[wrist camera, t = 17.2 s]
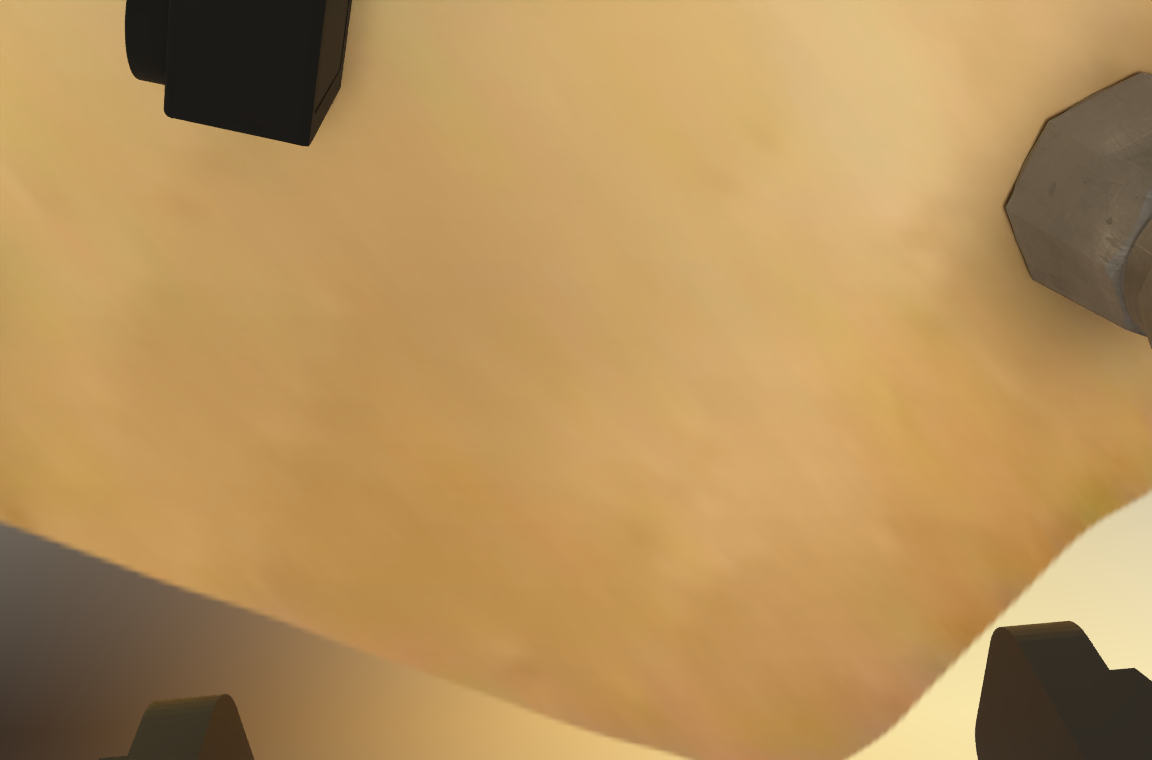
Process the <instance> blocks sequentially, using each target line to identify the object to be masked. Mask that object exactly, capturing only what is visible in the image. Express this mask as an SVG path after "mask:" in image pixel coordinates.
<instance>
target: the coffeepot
mask: <svg viewBox="0 0 1152 760" xmlns="http://www.w3.org/2000/svg"><path fill="white" fill-rule="evenodd" d="M1006 211H1007V214H1008V216H1009V219H1010V222H1011V224H1012V227H1013V231H1014V235H1015V239H1016V242H1017V244H1018V246H1019V248H1020V250H1021V252H1022V253H1023V256H1024V259H1025V261H1026V264H1027V267H1028V269H1029V272H1030V275H1031V277H1032V279H1033V280H1035V281H1036V282H1038V283H1040V284H1042V285H1044V286H1046V287H1048V288H1049V289H1051V290H1053V291H1055V292H1057V293H1059V294H1061V295H1062V296H1064V297H1066V298H1068V299H1070V300H1072V301H1074V302H1075V303H1077V304H1079V305H1081V306H1083V307H1085V308H1087V309H1088V310H1090V311H1092V312H1094V313H1096V314H1098V315H1100V316H1101V317H1103V318H1105V319H1107V320H1109V321H1111V322H1113V323H1114V324H1116V325H1118V326H1120V327H1122V328H1124V329H1126V330H1128V331H1131V332H1134V333H1137V334H1140V335H1143V336H1146V337H1148V340H1149V343H1150V346H1151V348H1152V74H1148V73H1145V72H1141V73H1139V74H1137V75H1134V76H1132V77H1130V78H1128V79H1126V80H1123V81H1121V82H1119V83H1117V84H1115V85H1112V86H1110V87H1108V88H1105V89H1103V90H1101V91H1098V92H1096V93H1094V94H1091V95H1090V96H1088V97H1086V98H1085V99H1083V100H1082V101H1080V102H1078V103H1077V104H1075V105H1074V106H1072V107H1071V108H1069V109H1068V110H1067V111H1066V112H1065V113H1063V114H1061V115H1059V116H1057V117H1055V118H1053V119H1051V120H1050V121H1049V122H1048V123H1047V125H1046V126H1045V128H1044V130H1043V131H1042V133H1041V135H1040V136H1039V138H1038V140H1037V141H1036V143H1035V144H1034V146H1033V148H1032V149H1031V151H1030V153H1029V154H1028V156H1027V158H1026V159H1025V161H1024V163H1023V165H1022V168H1021V170H1020V173H1019V175H1018V178H1017V180H1016V183H1015V188H1014V192H1013V194H1012V196H1011V198H1010V200H1009V202H1008V204H1007V206H1006Z"/></svg>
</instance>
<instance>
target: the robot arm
mask: <svg viewBox="0 0 1152 760" xmlns="http://www.w3.org/2000/svg"><path fill="white" fill-rule="evenodd" d="M975 742H976V750H977V756H978V760H1152V681H1151V680H1149V679H1148V678H1147V677H1146V676H1144V675H1143V674H1142V673H1140V672H1139V671H1138V670H1137V669H1135V668H1128V669H1118V670H1109V668H1108V667H1107V665H1106V664H1105V663H1104V661H1103V660H1102V658H1101V656H1100V655H1099V653H1098V652H1097V650H1096V649H1095V647H1094V646H1093V644H1092V643H1091V641H1090V640H1089V638H1088V637H1087V635H1086V634H1085V633H1084V631H1083V630H1082V629H1081V628H1080V627H1079V626H1078V625H1077V624H1075V623H1074V622H1071V621H1064V622H1052V623H1041V624H1030V625H1018V626H1007V627H999V628H997V629H996V630H995V631H994V632H993V635H992V637H991V641H990V647H989V653H988V658H987V664H986V669H985V675H984V680H983V686H982V692H981V697H980V703H979V708H978V714H977V719H976V727H975ZM99 760H254V757H253V755H252V752H251V749H250V746H249V743H248V740H247V737H246V734H245V731H244V728H243V725H242V722H241V719H240V716H239V713H238V710H237V707H236V705H235V703H234V701H233V699H232V697H231V696H229V695H227V694H220V695H210V696H200V697H199V696H198V697H187V698H176V699H165V700H155V701H154V702H152V703H151V704H150V705H149V706H148V708H147V709H146V711H145V713H144V715H143V717H142V720H141V723H140V725H139V728H138V730H137V733H136V735H135V738H134V740H133V743H132V746H131V748H130V750H129V753H128V756H121V757H110V758H100V759H99Z"/></svg>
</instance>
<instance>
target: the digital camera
mask: <svg viewBox="0 0 1152 760" xmlns="http://www.w3.org/2000/svg"><path fill="white" fill-rule="evenodd" d="M351 4H352V0H127V1H126V14H125V44H126V52H127V58H128V63H129V66H130V69H131V71H132V73H133V75H134V76H135V77H136V78H137V79H139V80H143V81H148V82H153V83H158V84H163V85H165V97H164V112H165V114H166V115H167V116H168V117H170V118H175V119H180V120H185V121H189V122H194V123H199V124H204V125H208V126H213V127H218V128H222V129H227V130H232V131H236V132H241V133H246V134H250V135H255V136H260V137H264V138H269V139H273V140H278V141H283V142H287V143H292V144H296V145H301V146H309V145H310V144H311V142H312V140H313V138H314V137H315V135H316V133H317V131H318V129H319V127H320V125H321V123H322V121H323V120H324V118H325V116H326V114H327V112H328V110H329V108H330V106H331V104H332V103H333V101H334V99H335V97H336V95H337V93H338V91H339V89H340V87H341V79H342V72H343V64H344V57H345V49H346V42H347V34H348V27H349V19H350V12H351Z"/></svg>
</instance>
